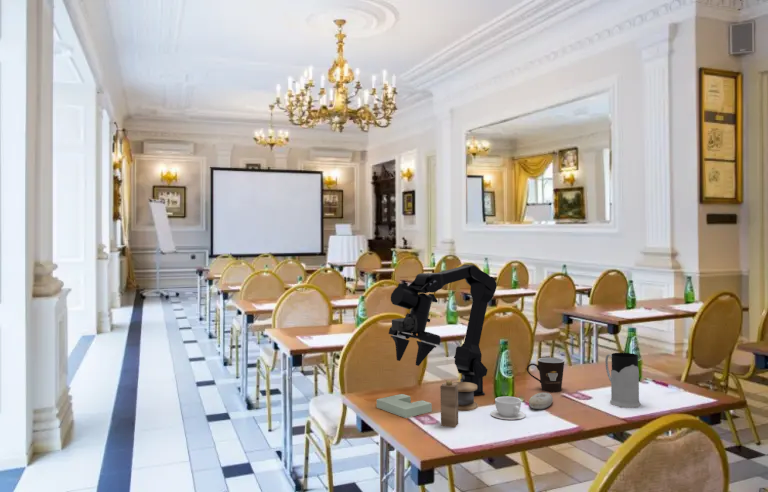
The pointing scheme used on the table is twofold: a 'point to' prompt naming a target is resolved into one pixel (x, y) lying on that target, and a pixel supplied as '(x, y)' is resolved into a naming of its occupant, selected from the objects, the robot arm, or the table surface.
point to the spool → (466, 396)
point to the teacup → (508, 408)
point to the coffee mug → (550, 373)
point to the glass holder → (624, 380)
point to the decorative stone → (540, 400)
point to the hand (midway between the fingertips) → (407, 363)
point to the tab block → (449, 404)
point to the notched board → (403, 405)
